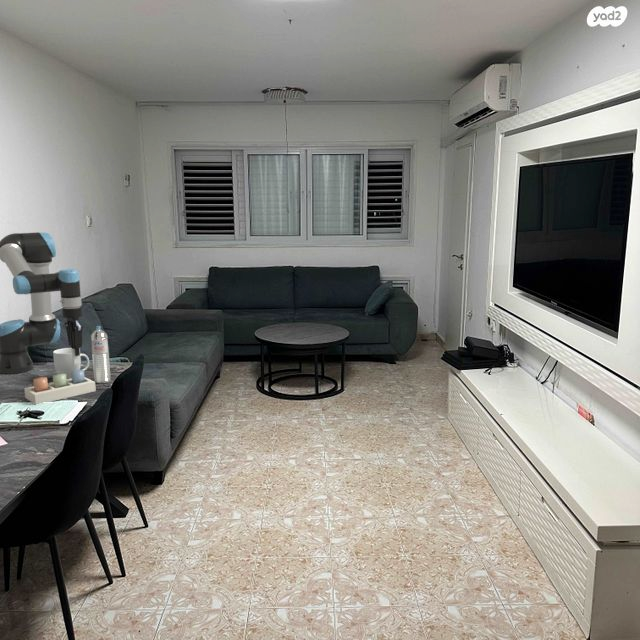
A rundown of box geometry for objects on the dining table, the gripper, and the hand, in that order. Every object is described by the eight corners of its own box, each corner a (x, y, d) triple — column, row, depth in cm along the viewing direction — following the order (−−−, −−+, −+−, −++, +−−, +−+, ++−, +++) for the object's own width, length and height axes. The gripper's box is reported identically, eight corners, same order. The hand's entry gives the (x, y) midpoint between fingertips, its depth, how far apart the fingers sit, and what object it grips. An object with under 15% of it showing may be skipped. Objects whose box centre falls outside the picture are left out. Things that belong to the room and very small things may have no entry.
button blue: (70, 382, 243) (69, 371, 242) (82, 380, 246) (81, 369, 245) (75, 385, 239) (74, 373, 238) (86, 382, 243) (86, 371, 242)
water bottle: (114, 379, 258) (109, 325, 253) (104, 384, 251) (100, 328, 246) (100, 378, 260) (96, 324, 255) (91, 383, 253) (86, 327, 248)
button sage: (51, 386, 238) (50, 375, 237) (64, 384, 241) (63, 372, 240) (56, 389, 234) (55, 377, 233) (69, 386, 237) (67, 375, 237)
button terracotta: (32, 390, 232) (31, 378, 231) (45, 388, 236) (44, 376, 235) (37, 393, 229) (35, 381, 228) (50, 390, 232) (49, 378, 231)
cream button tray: (25, 397, 234) (24, 388, 233) (83, 384, 251) (83, 376, 250) (35, 404, 226) (34, 395, 225) (95, 391, 242) (95, 381, 241)
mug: (86, 372, 270) (84, 345, 267) (94, 377, 262) (91, 349, 259) (52, 378, 261) (49, 350, 258) (59, 383, 252) (56, 354, 250)
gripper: (56, 306, 238) (61, 361, 243) (68, 310, 229) (74, 367, 234) (74, 304, 244) (79, 358, 248) (87, 307, 234) (92, 363, 239)
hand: (77, 362), depth 241 cm, fingers closed
